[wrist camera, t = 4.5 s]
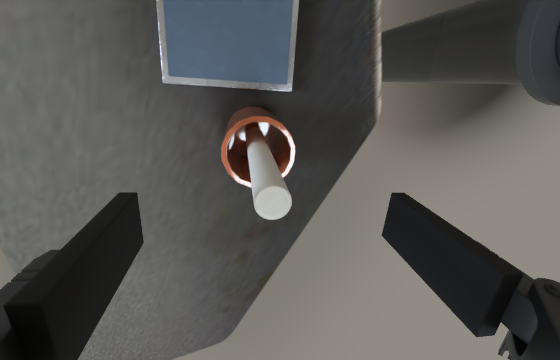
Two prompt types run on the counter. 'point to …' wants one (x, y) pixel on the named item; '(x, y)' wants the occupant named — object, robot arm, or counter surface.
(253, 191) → the stylus
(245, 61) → the tablet
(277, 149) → the pen pot
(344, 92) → the counter surface
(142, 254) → the counter surface
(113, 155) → the counter surface
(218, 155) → the counter surface
